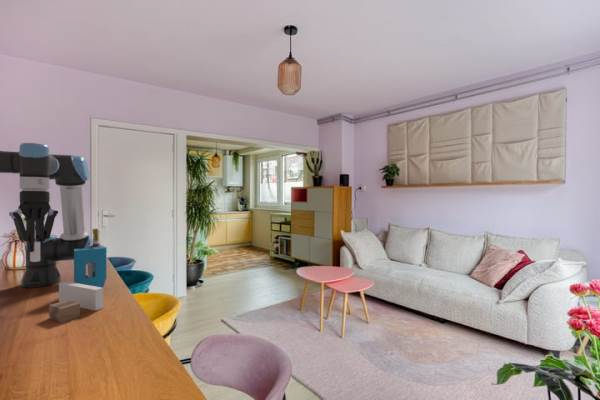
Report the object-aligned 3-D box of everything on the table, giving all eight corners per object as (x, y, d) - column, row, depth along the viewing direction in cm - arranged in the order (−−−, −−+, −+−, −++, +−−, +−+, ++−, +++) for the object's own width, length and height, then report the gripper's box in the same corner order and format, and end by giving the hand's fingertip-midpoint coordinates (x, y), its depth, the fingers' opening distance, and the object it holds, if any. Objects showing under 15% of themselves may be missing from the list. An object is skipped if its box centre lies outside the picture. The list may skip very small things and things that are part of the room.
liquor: (106, 284, 150) (106, 227, 149) (104, 288, 143) (104, 229, 143) (88, 286, 147) (88, 228, 146) (85, 290, 140) (85, 230, 140)
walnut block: (49, 318, 109) (49, 305, 109) (68, 313, 115) (68, 299, 114) (61, 323, 106) (61, 308, 105) (80, 317, 111) (80, 303, 111)
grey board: (59, 302, 125) (58, 283, 124) (66, 300, 127) (66, 281, 127) (95, 310, 116) (95, 290, 116) (103, 308, 119) (103, 287, 119)
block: (74, 296, 132) (73, 250, 132) (74, 293, 136) (73, 249, 136) (106, 291, 139) (106, 248, 139) (105, 288, 143) (105, 246, 143)
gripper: (17, 190, 93) (17, 266, 94) (63, 190, 106) (63, 258, 106) (3, 189, 96) (3, 264, 97) (50, 190, 108) (50, 256, 109)
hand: (35, 261), depth 101 cm, fingers closed
